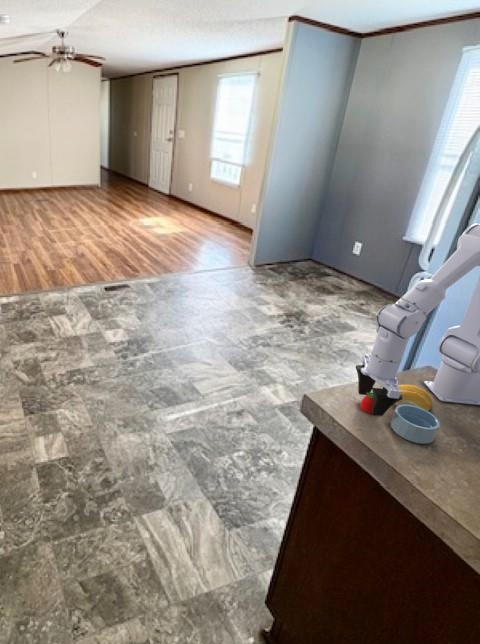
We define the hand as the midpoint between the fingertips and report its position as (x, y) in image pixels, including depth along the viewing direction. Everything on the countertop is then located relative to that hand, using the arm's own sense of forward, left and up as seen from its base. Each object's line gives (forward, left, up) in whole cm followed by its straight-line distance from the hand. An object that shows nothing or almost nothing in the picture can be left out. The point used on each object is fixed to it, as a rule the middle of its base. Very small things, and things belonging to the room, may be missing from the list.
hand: (370, 404), depth 101 cm
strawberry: (0, 0, -2) cm, 2 cm away
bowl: (-6, +7, -2) cm, 9 cm away
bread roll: (-11, -4, -2) cm, 12 cm away
